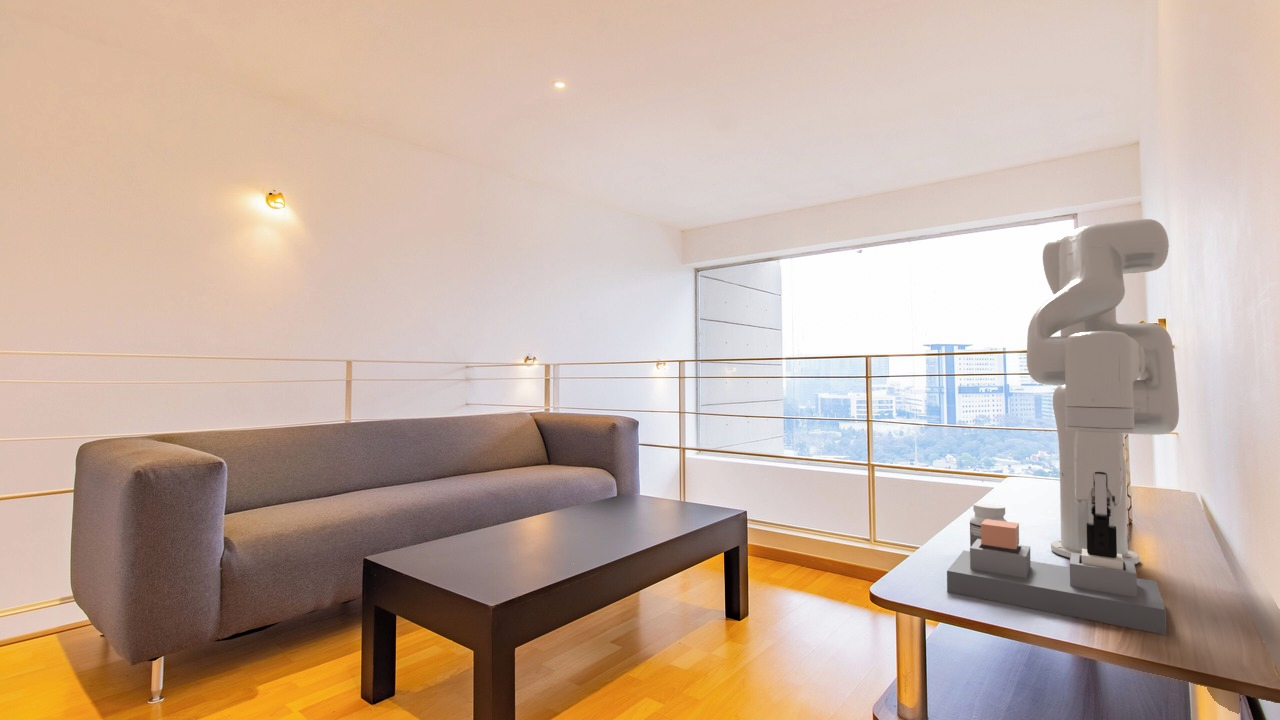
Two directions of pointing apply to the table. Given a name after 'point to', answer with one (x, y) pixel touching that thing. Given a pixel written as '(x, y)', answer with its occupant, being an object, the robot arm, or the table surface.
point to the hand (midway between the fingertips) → (1101, 554)
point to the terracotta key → (1000, 533)
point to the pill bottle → (981, 514)
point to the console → (1059, 586)
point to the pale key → (1102, 560)
